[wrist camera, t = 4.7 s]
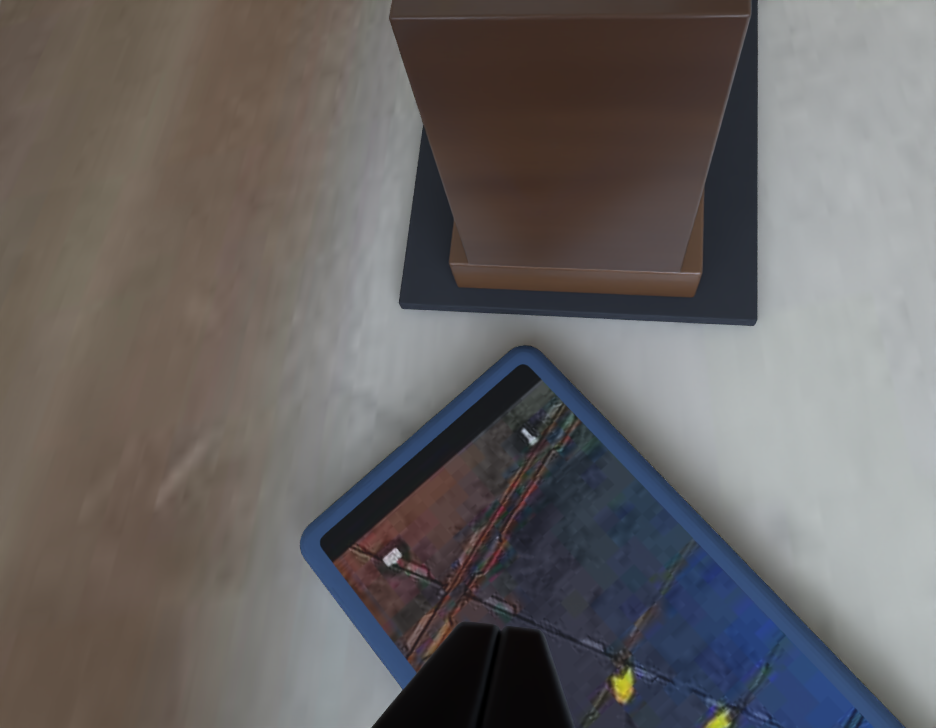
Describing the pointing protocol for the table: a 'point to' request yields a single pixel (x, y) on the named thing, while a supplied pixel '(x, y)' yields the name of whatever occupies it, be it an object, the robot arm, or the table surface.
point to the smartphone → (572, 568)
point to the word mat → (716, 300)
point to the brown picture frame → (573, 134)
